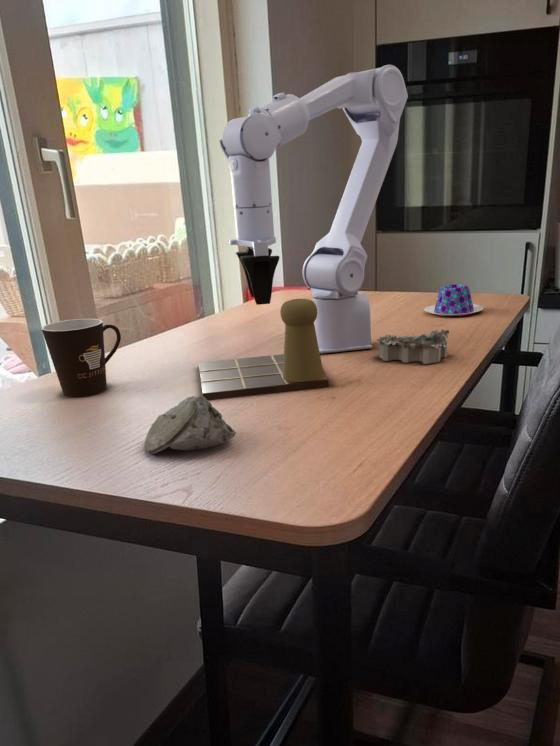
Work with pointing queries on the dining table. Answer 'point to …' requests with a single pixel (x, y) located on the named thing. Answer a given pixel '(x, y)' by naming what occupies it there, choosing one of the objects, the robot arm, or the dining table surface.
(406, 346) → the egg carton
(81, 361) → the coffee mug
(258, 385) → the board
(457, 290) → the pudding
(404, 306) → the dining table surface
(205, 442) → the fossilized seashell
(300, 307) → the olive pawn
